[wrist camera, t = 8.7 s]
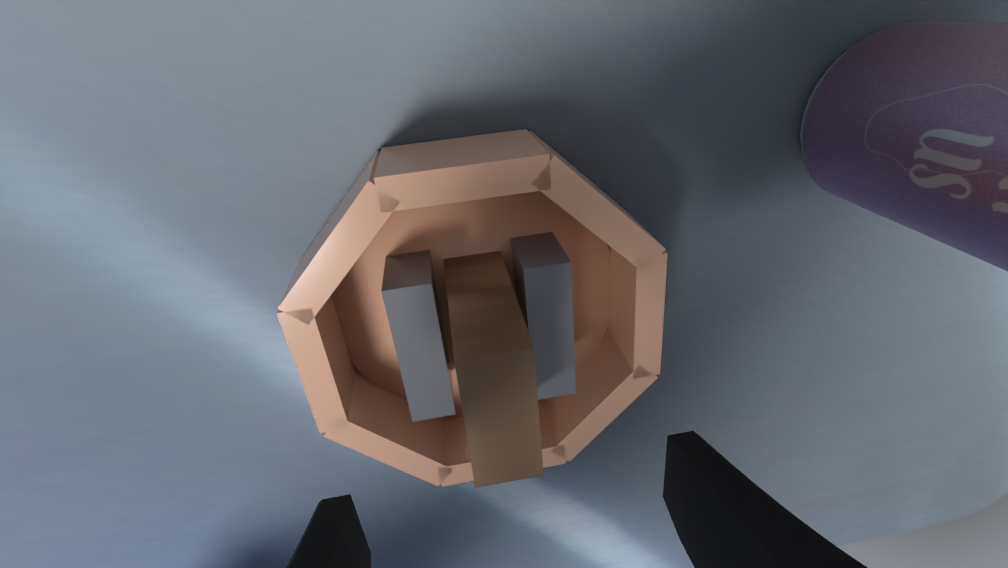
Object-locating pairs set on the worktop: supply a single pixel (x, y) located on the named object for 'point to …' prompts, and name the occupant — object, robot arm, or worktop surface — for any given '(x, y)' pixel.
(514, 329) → the brown rectangular block
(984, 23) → the beverage can
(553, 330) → the tan octagonal tray
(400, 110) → the worktop surface
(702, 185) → the worktop surface
